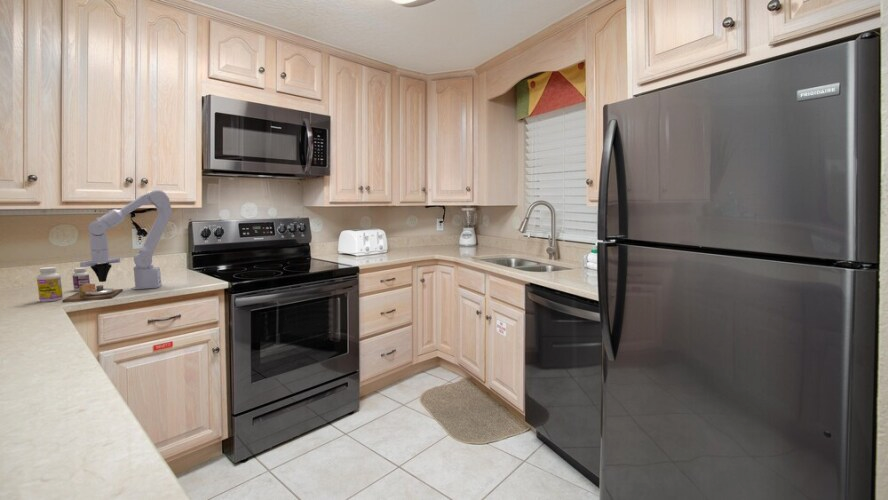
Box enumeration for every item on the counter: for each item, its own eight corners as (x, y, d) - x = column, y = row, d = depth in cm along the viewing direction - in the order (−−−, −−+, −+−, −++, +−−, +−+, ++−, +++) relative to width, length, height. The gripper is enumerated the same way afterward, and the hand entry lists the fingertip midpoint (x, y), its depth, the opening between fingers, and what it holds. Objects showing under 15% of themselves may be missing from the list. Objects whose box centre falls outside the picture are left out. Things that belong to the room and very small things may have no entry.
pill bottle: (80, 291, 176) (78, 269, 174) (70, 291, 177) (68, 269, 176) (93, 288, 181) (91, 267, 180) (84, 288, 182) (81, 267, 181)
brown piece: (122, 291, 176) (121, 278, 175) (111, 298, 162) (110, 284, 162) (78, 294, 170) (76, 281, 169) (62, 302, 156) (61, 288, 155)
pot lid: (120, 291, 170) (119, 283, 169) (96, 296, 161) (95, 287, 161) (97, 289, 173) (97, 281, 173) (73, 294, 164) (72, 286, 164)
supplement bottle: (35, 303, 156) (31, 269, 154) (44, 299, 162) (40, 267, 160) (58, 301, 158) (54, 268, 157) (66, 297, 164) (62, 266, 163)
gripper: (110, 247, 180) (113, 278, 182) (73, 251, 166) (76, 284, 168) (122, 248, 178) (125, 278, 180) (85, 251, 164) (89, 285, 166)
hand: (102, 281), depth 174 cm, fingers closed
